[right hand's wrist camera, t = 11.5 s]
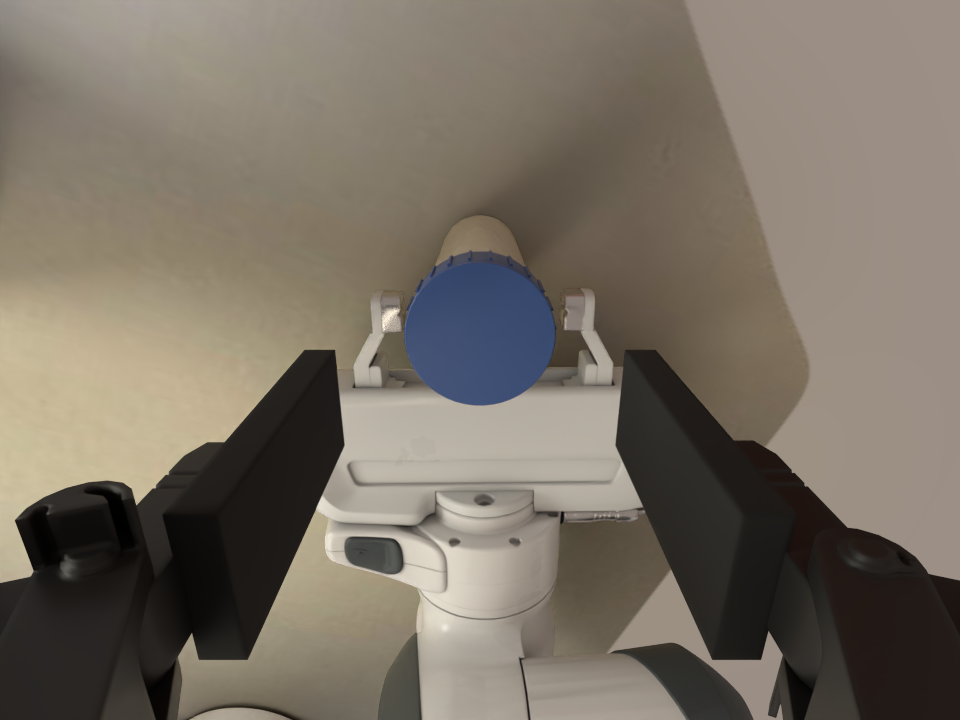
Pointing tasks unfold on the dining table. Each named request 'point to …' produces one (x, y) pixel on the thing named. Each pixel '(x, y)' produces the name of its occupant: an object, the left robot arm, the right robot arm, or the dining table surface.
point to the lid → (480, 329)
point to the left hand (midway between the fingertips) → (482, 291)
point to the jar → (480, 238)
